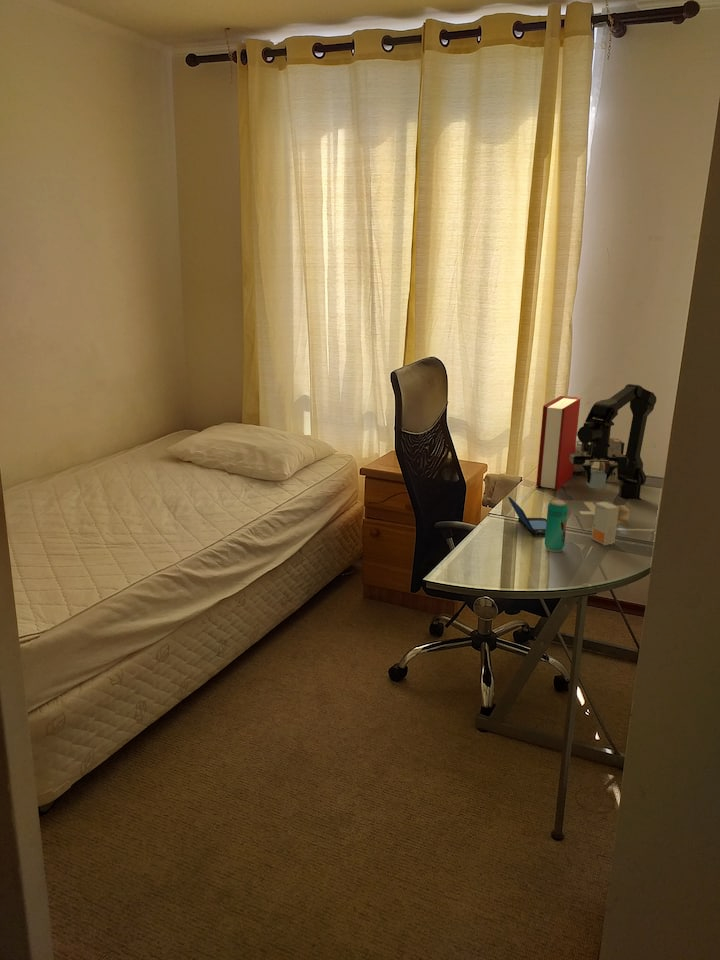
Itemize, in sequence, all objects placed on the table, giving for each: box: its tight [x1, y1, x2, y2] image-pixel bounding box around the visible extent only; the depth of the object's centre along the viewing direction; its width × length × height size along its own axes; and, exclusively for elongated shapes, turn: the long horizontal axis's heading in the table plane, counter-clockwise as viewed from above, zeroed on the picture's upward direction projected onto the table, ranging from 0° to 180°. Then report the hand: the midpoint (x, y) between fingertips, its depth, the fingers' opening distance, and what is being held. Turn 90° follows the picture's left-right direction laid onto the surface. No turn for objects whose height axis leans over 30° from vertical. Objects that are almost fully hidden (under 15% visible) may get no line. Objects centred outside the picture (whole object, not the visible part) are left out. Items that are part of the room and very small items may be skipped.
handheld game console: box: [508, 496, 547, 538], centre depth 239 cm, size 16×13×9 cm
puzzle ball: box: [573, 436, 595, 473], centre depth 309 cm, size 15×15×15 cm
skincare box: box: [591, 502, 619, 546], centre depth 228 cm, size 6×4×12 cm
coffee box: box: [598, 437, 625, 483], centre depth 298 cm, size 9×6×16 cm
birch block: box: [615, 504, 631, 525], centre depth 246 cm, size 6×6×6 cm
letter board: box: [563, 499, 616, 517], centre depth 261 cm, size 18×18×1 cm
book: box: [535, 395, 581, 491], centre depth 292 cm, size 27×8×32 cm, turn 152°
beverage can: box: [544, 498, 569, 553], centre depth 220 cm, size 6×6×15 cm
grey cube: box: [586, 469, 607, 489], centre depth 258 cm, size 5×5×5 cm
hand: (596, 483), depth 258 cm, fingers closed on grey cube, 5 cm apart
